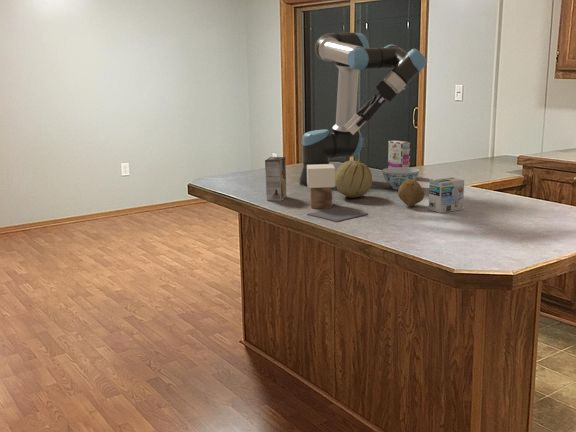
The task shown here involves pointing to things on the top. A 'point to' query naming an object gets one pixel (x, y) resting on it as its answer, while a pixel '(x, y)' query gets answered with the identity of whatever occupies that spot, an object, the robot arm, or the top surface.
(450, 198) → the light bulb box
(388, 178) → the chinaware
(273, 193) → the coffee box
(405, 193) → the coconut
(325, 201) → the tin
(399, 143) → the candy bar box
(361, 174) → the cantaloupe
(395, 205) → the top surface
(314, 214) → the mat
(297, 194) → the top surface
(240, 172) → the top surface
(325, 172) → the cream cube
